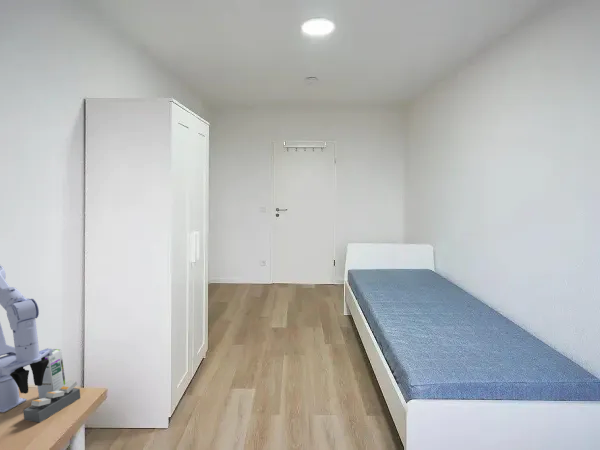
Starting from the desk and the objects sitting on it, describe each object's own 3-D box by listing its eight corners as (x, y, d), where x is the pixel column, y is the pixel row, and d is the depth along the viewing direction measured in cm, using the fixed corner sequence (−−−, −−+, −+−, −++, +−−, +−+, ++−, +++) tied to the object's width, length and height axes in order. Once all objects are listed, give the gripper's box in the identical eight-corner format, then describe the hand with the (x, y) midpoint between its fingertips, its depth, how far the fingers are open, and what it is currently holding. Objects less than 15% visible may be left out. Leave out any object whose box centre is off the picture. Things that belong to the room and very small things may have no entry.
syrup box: (54, 399, 143) (49, 355, 141) (38, 398, 144) (33, 355, 143) (66, 391, 148) (62, 348, 147) (51, 390, 150) (46, 348, 148)
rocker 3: (60, 392, 140) (59, 388, 139) (70, 383, 143) (69, 380, 143) (67, 393, 139) (66, 389, 138) (77, 384, 142) (76, 381, 142)
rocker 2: (45, 397, 135) (46, 392, 135) (56, 394, 138) (57, 389, 139) (53, 398, 134) (53, 393, 134) (64, 395, 138) (64, 390, 138)
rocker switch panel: (24, 419, 131) (22, 407, 131) (65, 395, 145) (64, 384, 145) (39, 422, 129) (38, 410, 129) (80, 397, 143) (79, 386, 143)
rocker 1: (31, 405, 130) (31, 400, 130) (43, 402, 134) (43, 397, 134) (38, 406, 129) (39, 401, 129) (50, 403, 133) (50, 398, 133)
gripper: (13, 353, 119) (19, 402, 121) (58, 335, 133) (63, 379, 134) (-7, 351, 121) (-1, 399, 123) (40, 333, 135) (45, 377, 136)
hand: (31, 388), depth 129 cm, fingers open, 4 cm apart
